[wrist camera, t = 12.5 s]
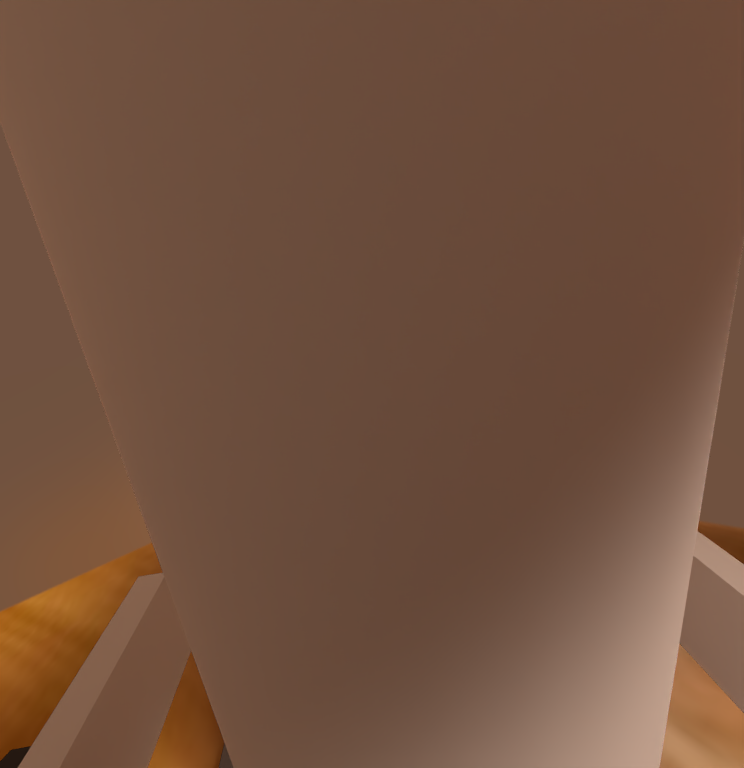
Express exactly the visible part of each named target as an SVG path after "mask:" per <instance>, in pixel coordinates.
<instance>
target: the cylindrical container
mask: <svg viewBox="0 0 744 768" xmlns="http://www.w3.org/2000/svg"><path fill="white" fill-rule="evenodd" d="M0 123H1V126H2V129H3V132H4V134H5V137H6V140H7V143H8V145H9V148H10V151H11V154H12V157H13V159H14V162H15V165H16V168H17V170H18V173H19V176H20V179H21V182H22V184H23V187H24V190H25V193H26V195H27V198H28V201H29V204H30V206H31V209H32V212H33V215H34V217H35V220H36V223H37V226H38V228H39V231H40V234H41V237H42V240H43V242H44V245H45V248H46V251H47V253H48V256H49V258H50V261H51V264H52V267H53V270H54V272H55V275H56V278H57V281H58V284H59V287H60V289H61V292H62V295H63V298H64V300H65V303H66V306H67V309H68V311H69V314H70V317H71V320H72V322H73V325H74V328H75V331H76V334H77V336H78V339H79V342H80V345H81V347H82V350H83V353H84V355H85V358H86V361H87V364H88V367H89V370H90V372H91V375H92V377H93V381H94V383H95V386H96V389H97V392H98V394H99V397H100V399H101V403H102V405H103V408H104V411H105V413H106V416H107V419H108V422H109V425H110V427H111V430H112V433H113V436H114V439H115V441H116V444H117V447H118V449H119V452H120V455H121V458H122V460H123V463H124V466H125V469H126V471H127V474H128V477H129V480H130V483H131V485H132V488H133V491H134V494H135V497H136V499H137V502H138V505H139V508H140V510H141V513H142V516H143V519H144V521H145V524H146V527H147V530H148V533H149V535H150V538H151V541H152V544H153V546H154V549H155V552H156V555H157V557H158V560H159V563H160V566H161V569H162V571H163V574H164V577H165V580H166V582H167V585H168V588H169V591H170V593H171V596H172V599H173V602H174V604H175V607H176V610H177V613H178V616H179V618H180V621H181V624H182V627H183V629H184V632H185V635H186V638H187V640H188V643H189V646H190V649H191V651H192V654H193V657H194V660H195V663H196V665H197V668H198V671H199V674H200V676H201V679H202V682H203V685H204V687H205V690H206V693H207V696H208V698H209V701H210V704H211V707H212V709H213V712H214V715H215V718H216V721H217V723H218V726H219V729H220V732H221V734H222V737H223V740H224V743H225V745H226V748H227V751H228V754H229V756H230V759H231V762H232V765H233V768H659V767H660V761H661V755H662V749H663V742H664V736H665V730H666V724H667V717H668V711H669V705H670V699H671V692H672V686H673V680H674V673H675V667H676V661H677V655H678V648H679V642H680V636H681V630H682V623H683V617H684V611H685V605H686V598H687V592H688V586H689V580H690V573H691V567H692V561H693V555H694V548H695V542H696V536H697V530H698V523H699V517H700V511H701V505H702V498H703V492H704V486H705V480H706V472H707V467H708V461H709V455H710V448H711V441H712V435H713V429H714V423H715V417H716V411H717V404H718V398H719V392H720V386H721V379H722V373H723V367H724V361H725V354H726V348H727V342H728V335H729V328H730V323H731V317H732V311H733V304H734V297H735V291H736V285H737V279H738V273H739V267H740V261H741V254H742V247H743V241H744V0H0Z"/></svg>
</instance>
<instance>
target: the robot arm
mask: <svg viewBox="0 0 744 768" xmlns="http://www.w3.org/2000/svg"><path fill="white" fill-rule="evenodd" d="M679 643H680V644H681V645H682V647H683V648H684V649H685V650H686V651H687V652H688V653H689V654H690V655H691V656H692V657H693V658H694V660H695V661H696V662H697V663H698V664H699V665H700V666H701V667H702V668H703V669H704V670H705V672H706V673H707V674H708V675H709V676H710V677H711V678H712V679H713V680H714V681H715V682H716V683H717V685H718V686H719V687H720V688H721V689H722V690H723V691H724V692H725V693H726V694H727V695H728V696H729V698H730V699H731V700H732V701H733V702H734V703H735V704H736V705H737V706H738V707H739V708H740V710H741V711H742V712H743V713H744V564H743V563H741V562H740V561H738V560H737V559H736V558H734V557H733V556H731V555H730V554H729V553H727V552H726V551H725V550H723V549H722V548H720V547H719V546H718V545H716V544H715V543H713V542H712V541H711V540H709V539H708V538H707V537H705V536H704V535H702V534H701V533H700V532H698V531H697V536H696V542H695V548H694V555H693V561H692V567H691V573H690V580H689V586H688V592H687V598H686V605H685V611H684V617H683V623H682V630H681V636H680V642H679ZM190 652H191V649H190V646H189V643H188V640H187V638H186V635H185V632H184V629H183V627H182V624H181V621H180V618H179V616H178V613H177V610H176V607H175V604H174V602H173V599H172V596H171V593H170V591H169V588H168V585H167V582H166V580H165V577H164V574H163V573H158V574H152V575H146V576H140V577H138V578H137V580H136V582H135V583H134V585H133V586H132V588H131V589H130V591H129V593H128V594H127V596H126V597H125V599H124V601H123V602H122V604H121V605H120V607H119V608H118V610H117V612H116V613H115V615H114V616H113V618H112V619H111V621H110V623H109V624H108V626H107V627H106V629H105V631H104V632H103V634H102V635H101V637H100V638H99V640H98V642H97V643H96V645H95V646H94V648H93V649H92V651H91V653H90V654H89V656H88V657H87V659H86V661H85V662H84V664H83V665H82V667H81V668H80V670H79V672H78V673H77V675H76V676H75V678H74V679H73V681H72V683H71V684H70V686H69V687H68V689H67V691H66V692H65V694H64V695H63V697H62V698H61V700H60V702H59V703H58V705H57V706H56V708H55V710H54V711H53V713H52V714H51V716H50V717H49V719H48V721H47V722H46V724H45V725H44V727H43V728H42V730H41V732H40V733H39V735H38V736H37V738H36V740H35V741H34V743H33V744H32V746H30V747H24V748H19V749H13V750H11V751H10V752H9V753H8V754H7V755H6V756H5V757H4V758H3V759H2V760H1V761H0V768H147V767H148V765H149V762H150V759H151V757H152V754H153V751H154V749H155V746H156V743H157V741H158V738H159V735H160V733H161V730H162V727H163V725H164V722H165V719H166V717H167V714H168V711H169V709H170V706H171V703H172V701H173V698H174V695H175V692H176V690H177V687H178V684H179V682H180V679H181V676H182V674H183V671H184V668H185V666H186V663H187V660H188V658H189V655H190Z"/></svg>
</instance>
